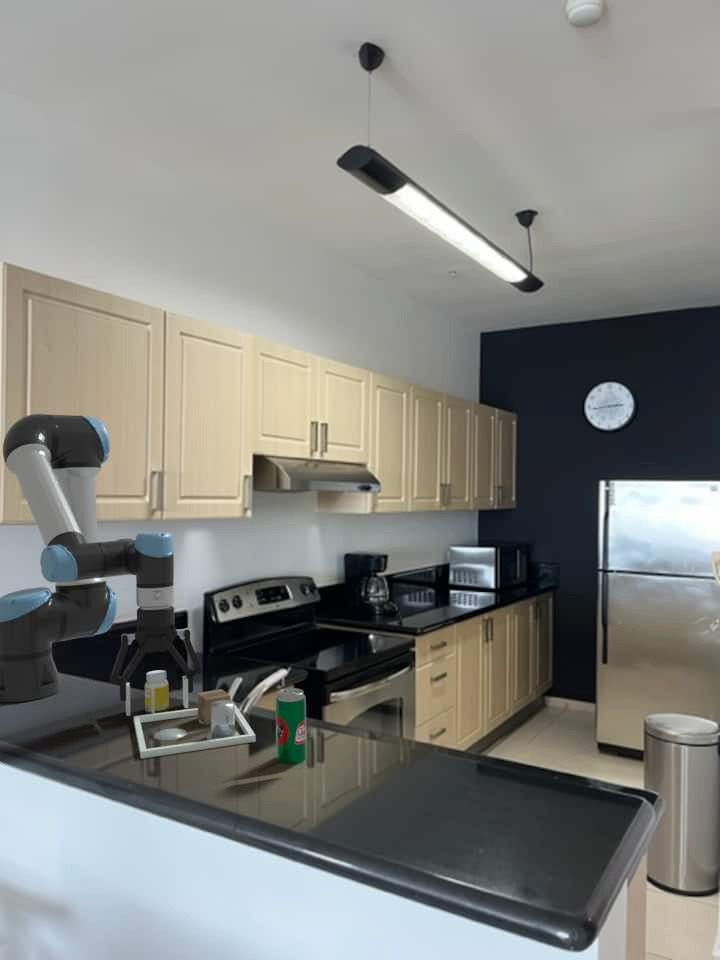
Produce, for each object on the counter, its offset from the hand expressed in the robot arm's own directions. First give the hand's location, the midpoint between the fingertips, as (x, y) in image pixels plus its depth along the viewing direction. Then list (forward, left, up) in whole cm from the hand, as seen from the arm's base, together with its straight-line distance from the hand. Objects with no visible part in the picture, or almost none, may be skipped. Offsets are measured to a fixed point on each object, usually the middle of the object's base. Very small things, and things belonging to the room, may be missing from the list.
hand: (157, 712), depth 148 cm
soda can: (+36, +19, 0) cm, 41 cm away
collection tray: (+16, +5, 0) cm, 17 cm away
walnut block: (+11, +10, +1) cm, 15 cm away
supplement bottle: (0, 0, 0) cm, 0 cm away
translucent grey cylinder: (+21, +10, +1) cm, 23 cm away
